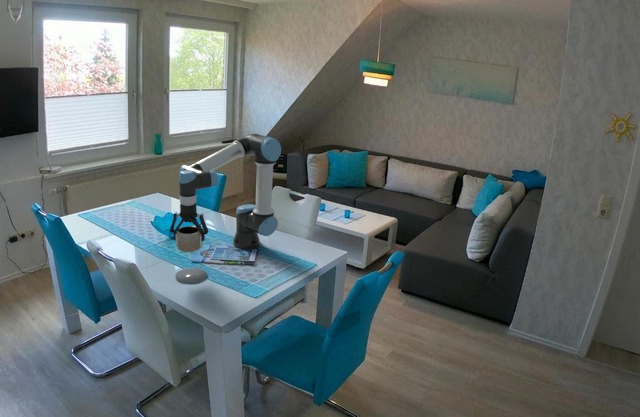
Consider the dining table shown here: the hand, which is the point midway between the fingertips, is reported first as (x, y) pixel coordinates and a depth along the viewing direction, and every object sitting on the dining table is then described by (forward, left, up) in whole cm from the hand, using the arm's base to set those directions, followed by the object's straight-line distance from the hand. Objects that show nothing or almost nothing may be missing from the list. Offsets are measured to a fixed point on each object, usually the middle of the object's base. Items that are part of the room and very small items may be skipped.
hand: (189, 246), depth 243 cm
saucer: (-1, 0, -16) cm, 16 cm away
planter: (0, 0, -1) cm, 1 cm away
